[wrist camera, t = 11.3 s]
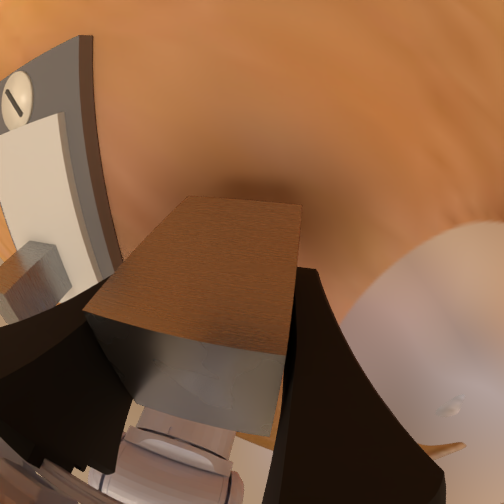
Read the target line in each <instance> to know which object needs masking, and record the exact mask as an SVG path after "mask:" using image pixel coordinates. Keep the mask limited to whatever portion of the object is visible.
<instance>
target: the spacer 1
mask: <svg viewBox="0 0 504 504" xmlns="http://www.w3.org/2000/svg"><path fill="white" fill-rule="evenodd" d="M71 288H72V284H71V282H70V280H69V277H68V275H67V273H66V270H65V268H64V265H63V263H62V260H61V258H60V255H59V252H58V250H57V247H56V245H54V244H48V243H42V242H36V241H30V240H29V241H28V242H27V243H26V244H25V245H24V246H22V247H21V248H20V249H19V250H18V251H17V252H15V253H14V254H13V255H12V256H11V257H10V258H9V259H8V260H7V261H5V262H4V263H3V264H2V265H1V266H0V314H1V315H2V317H3V319H4V320H5V322H6V323H8V324H13V323H15V322H18V321H21V320H24V319H27V318H29V317H31V316H34V315H36V314H39V313H41V312H44V311H46V310H48V309H51V308H53V307H55V306H56V305H57V304H58V302H59V301H60V300H61V299H62V298H63V297H64V295H65V294H66V293H67V292H68V291H69V290H70V289H71Z"/></svg>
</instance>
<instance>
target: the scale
mask: <svg viewBox="0 0 504 504" xmlns="http://www.w3.org/2000/svg"><path fill="white" fill-rule="evenodd" d="M92 44H93V36H88V35H78V36H76V37H74V38H72V39H70V40H68V41H66V42H64V43H62V44H60V45H58V46H56V47H54V48H52V49H51V50H49V51H47V52H45V53H43V54H42V55H40V56H38V57H36V58H35V59H33V60H32V61H30V62H28V63H27V64H25V65H24V66H22V67H20V68H19V69H17V70H16V71H14V72H13V73H12V74H10V75H9V76H7V77H6V78H4V79H3V80H2V81H0V205H1V208H2V211H3V214H4V217H5V220H6V223H7V226H8V229H9V232H10V235H11V237H12V240H13V243H14V245H15V248H16V250H17V251H18V250H19V249H20V248H21V247H22V246H24V245H25V244H26V243H27V242H28V241H29V240H30V241H36V242H42V243H48V244H54V245H56V247H57V250H58V252H59V255H60V258H61V260H62V263H63V265H64V268H65V270H66V273H67V275H68V277H69V280H70V282H71V284H72V288H71V289H70V290H69V291H68V292H67V293H66V294H65V295H64V297H63V298H62V299H61V300H60V301H59V302H60V303H63V302H65V301H67V300H69V299H71V298H73V297H75V296H76V295H78V294H80V293H82V292H83V291H85V290H87V289H88V288H90V287H92V286H94V285H95V284H97V283H99V282H100V281H102V280H104V279H106V278H107V277H109V276H110V275H112V274H113V273H114V272H115V271H116V270H117V269H118V267H119V266H120V265H121V264H122V263H123V260H122V257H121V253H120V249H119V246H118V242H117V238H116V234H115V230H114V226H113V221H112V217H111V213H110V208H109V203H108V199H107V194H106V188H105V183H104V178H103V172H102V166H101V159H100V152H99V145H98V137H97V129H96V119H95V108H94V94H93V68H92Z"/></svg>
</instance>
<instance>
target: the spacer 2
mask: <svg viewBox="0 0 504 504" xmlns="http://www.w3.org/2000/svg"><path fill="white" fill-rule="evenodd" d="M301 214H302V205H297V204H287V203H277V202H266V201H255V200H243V199H230V198H215V197H199V196H188V197H187V198H186V199H185V200H184V201H183V202H182V203H180V204H179V205H178V206H177V207H176V208H175V209H174V210H173V211H172V212H171V213H170V214H169V215H168V216H167V217H166V218H165V219H164V220H163V221H162V222H161V223H160V224H159V225H158V226H157V227H156V228H155V229H154V230H153V231H152V232H151V233H150V234H149V235H148V236H147V237H146V238H145V240H144V241H143V242H142V243H141V244H140V245H139V246H138V247H137V248H136V249H135V250H134V251H133V252H132V253H131V254H130V255H129V256H128V258H127V259H126V260H125V261H124V262H123V263H122V264H121V265H120V266H119V267H118V269H117V270H116V271H115V272H114V273H113V274H112V275H111V276H110V278H109V279H108V280H107V281H106V282H105V283H104V284H103V286H102V287H101V288H100V289H99V290H98V291H97V293H96V294H95V295H94V296H93V297H92V299H91V300H90V301H89V302H88V303H87V305H86V306H85V307H84V308H83V309H82V311H83V313H84V315H85V317H86V319H87V321H88V323H89V325H90V327H91V329H92V331H93V333H94V335H95V337H96V339H97V340H98V342H99V344H100V346H101V348H102V350H103V351H104V353H105V355H106V357H107V358H108V360H109V362H110V363H111V365H112V367H113V368H114V370H115V372H116V373H117V375H118V376H119V378H120V380H121V381H122V383H123V384H124V386H125V387H126V389H127V390H128V392H129V393H130V395H131V396H132V398H133V399H134V401H135V402H136V403H137V404H139V405H142V406H145V407H148V408H151V409H154V410H156V411H160V412H163V413H166V414H169V415H172V416H176V417H179V418H182V419H186V420H190V421H193V422H197V423H201V424H205V425H209V426H213V427H218V428H222V429H227V430H232V431H237V432H243V433H248V434H254V435H261V436H267V437H270V433H271V428H272V424H273V419H274V414H275V410H276V405H277V400H278V395H279V390H280V385H281V380H282V375H283V369H284V364H285V358H286V352H287V345H288V337H289V330H290V322H291V314H292V306H293V297H294V288H295V279H296V269H297V259H298V249H299V238H300V226H301Z"/></svg>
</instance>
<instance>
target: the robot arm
mask: <svg viewBox="0 0 504 504" xmlns="http://www.w3.org/2000/svg"><path fill="white" fill-rule="evenodd" d="M110 276H111V275H110ZM110 276H109V277H107V278H106V279H104V280H102V281H100V282H99V283H97V284H95V285H94V286H92V287H90V288H88V289H87V290H85V291H83V292H82V293H80V294H78V295H76V296H75V297H73V298H71V299H69V300H67V301H65V302H63V303H61V304H59V305H57V306H55V307H53V308H51V309H48V310H46V311H44V312H41V313H39V314H36V315H34V316H31V317H29V318H27V319H24V320H21V321H18V322H15V323H13V324H9V325H6V326H3V327H0V504H78V502H80V503H81V504H242V502H243V495H244V484H243V481H242V479H241V478H240V476H239V474H238V473H237V472H235V471H231V469H232V465H233V462H232V461H228V460H229V456H230V452H231V449H232V445H233V441H234V438H235V434H236V431H232V430H227V429H222V428H218V427H213V426H209V425H205V424H201V423H197V422H193V421H190V420H186V419H182V418H179V417H176V416H172V415H169V414H166V413H163V412H160V411H156V410H154V409H151V408H148V407H144V410H143V412H142V414H141V416H140V418H139V421H138V423H137V425H136V427H133V426H129V429H128V431H127V433H125V432H123V429H124V425H125V422H126V419H127V415H128V412H129V409H130V406H131V403H132V400H133V398H132V396H131V395H130V393H129V392H128V390H127V389H126V387H125V386H124V384H123V383H122V381H121V380H120V378H119V376H118V375H117V373H116V372H115V370H114V368H113V367H112V365H111V363H110V362H109V360H108V358H107V357H106V355H105V353H104V351H103V350H102V348H101V346H100V344H99V342H98V340H97V339H96V337H95V335H94V333H93V331H92V329H91V327H90V325H89V323H88V321H87V319H86V317H85V315H84V313H83V311H82V309H83V308H84V307H85V306H86V305H87V303H88V302H89V301H90V300H91V299H92V297H93V296H94V295H95V294H96V293H97V291H98V290H99V289H100V288H101V287H102V286H103V284H104V283H105V282H106V281H107V280H108V279H109V278H110ZM87 465H88V466H90V471H89V475H88V484H89V485H88V484H87V483H85V482H83V481H81V480H80V479H78V478H77V477H75V476H74V475H72V474H71V472H72V470H73V468H74V467H75V468H77V469H79V470H80V471H82V472H84V471H85V469H86V467H87ZM35 471H36V472H38V473H39V474H40V475H41V476H42V477H41V476H39V475H37V474H36V472H35ZM43 477H44V478H43ZM262 504H446V483H445V477H444V471H443V470H442V469H441V468H440V467H439V466H438V465H437V464H436V463H435V462H434V461H433V460H432V459H431V458H430V457H429V456H428V455H427V454H426V453H425V452H424V450H423V449H422V448H421V447H420V446H419V445H418V444H417V443H416V442H415V441H414V439H413V438H412V437H411V436H410V435H409V433H408V432H407V431H406V430H405V429H404V428H403V426H402V425H401V424H400V423H399V421H398V420H397V418H396V417H395V416H394V415H393V413H392V412H391V411H390V409H389V408H388V406H387V405H386V404H385V403H384V401H383V400H382V398H381V397H380V396H379V395H378V393H377V391H376V390H375V388H374V387H373V385H372V384H371V382H370V381H369V379H368V378H367V376H366V375H365V373H364V371H363V370H362V368H361V366H360V365H359V363H358V361H357V360H356V358H355V356H354V354H353V352H352V351H351V349H350V347H349V345H348V343H347V341H346V339H345V337H344V335H343V333H342V331H341V329H340V327H339V325H338V323H337V321H336V318H335V316H334V314H333V312H332V310H331V307H330V305H329V302H328V300H327V297H326V295H325V292H324V289H323V287H322V284H321V280H320V277H319V273H318V271H317V270H316V269H311V268H302V267H297V269H296V279H295V288H294V297H293V306H292V314H291V322H290V330H289V337H288V345H287V352H286V358H285V364H284V376H283V393H282V405H281V414H280V419H279V425H278V430H277V436H276V441H275V446H274V451H273V457H272V462H271V466H270V470H269V475H268V480H267V484H266V488H265V492H264V496H263V501H262ZM502 504H504V503H502Z"/></svg>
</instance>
